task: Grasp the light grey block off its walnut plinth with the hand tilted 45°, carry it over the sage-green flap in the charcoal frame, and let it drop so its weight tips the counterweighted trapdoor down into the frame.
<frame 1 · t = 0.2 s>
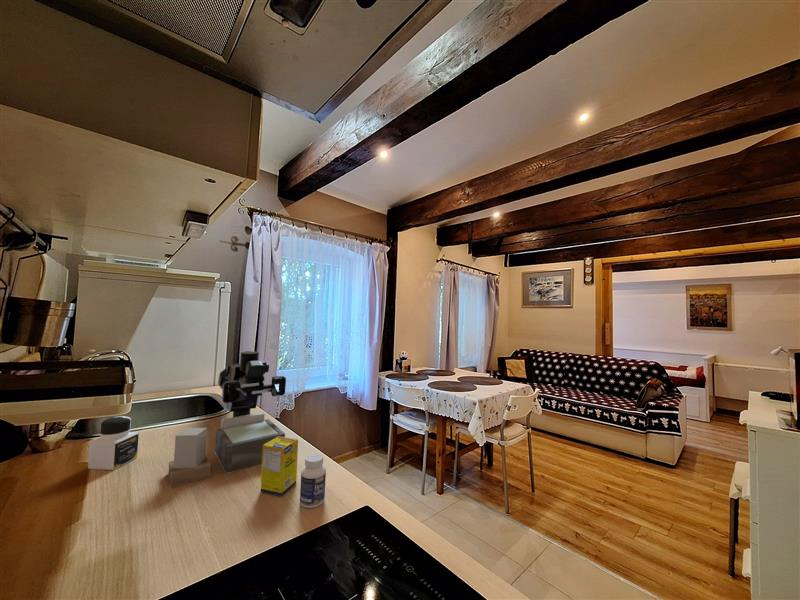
hand: (262, 395, 94), 17 cm above the worktop, tool horizontal, fingers open, 9 cm apart
supplement box: (278, 488, 75), on the worktop
walnut plinth: (189, 475, 79), on the worktop
pill bottle: (312, 502, 70), on the worktop
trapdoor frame: (249, 455, 91), on the worktop
trapdoor: (249, 427, 93), point 8 cm above the worktop, hinge at 0.0°
medicine bottle: (113, 464, 84), on the worktop
light grey block: (189, 463, 79), point 3 cm above the worktop, touching walnut plinth
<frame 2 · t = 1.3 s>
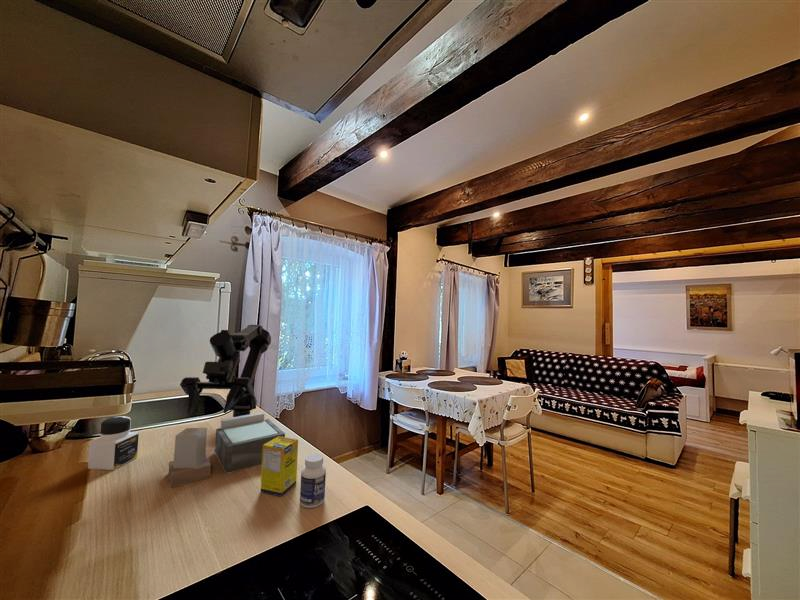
hand: (207, 412, 87), 13 cm above the worktop, tool tilted 45°, fingers open, 9 cm apart
nothing on the worktop moved.
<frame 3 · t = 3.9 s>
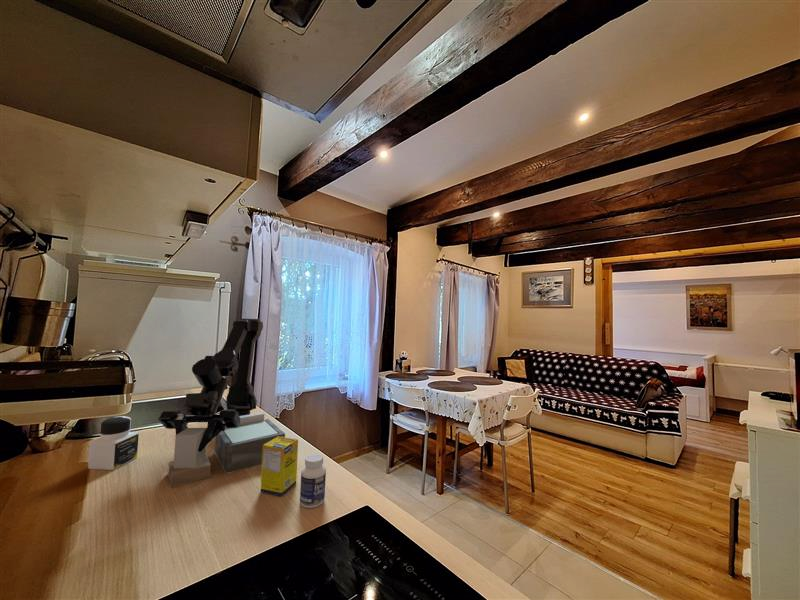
hand: (187, 451, 78), 7 cm above the worktop, tool tilted 45°, fingers closed on light grey block, 5 cm apart
light grey block: (189, 463, 79), point 3 cm above the worktop, touching gripper, walnut plinth
everything else where it was.
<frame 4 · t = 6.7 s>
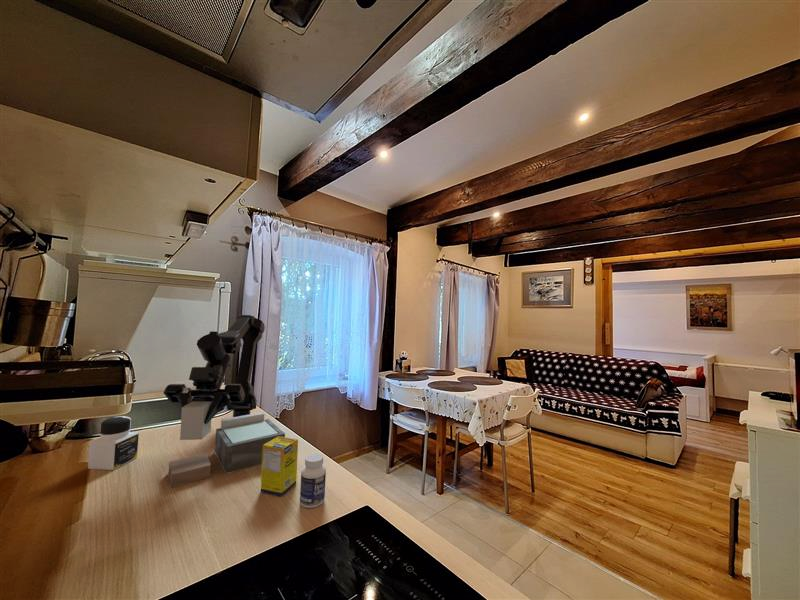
hand: (194, 423, 79), 13 cm above the worktop, tool tilted 45°, fingers closed on light grey block, 5 cm apart
light grey block: (195, 435, 80), point 10 cm above the worktop, touching gripper
everything else where it was.
when the fingers open (13 cm above the worktop, at t = 9.3 s): light grey block drops 6 cm, resting on trapdoor.
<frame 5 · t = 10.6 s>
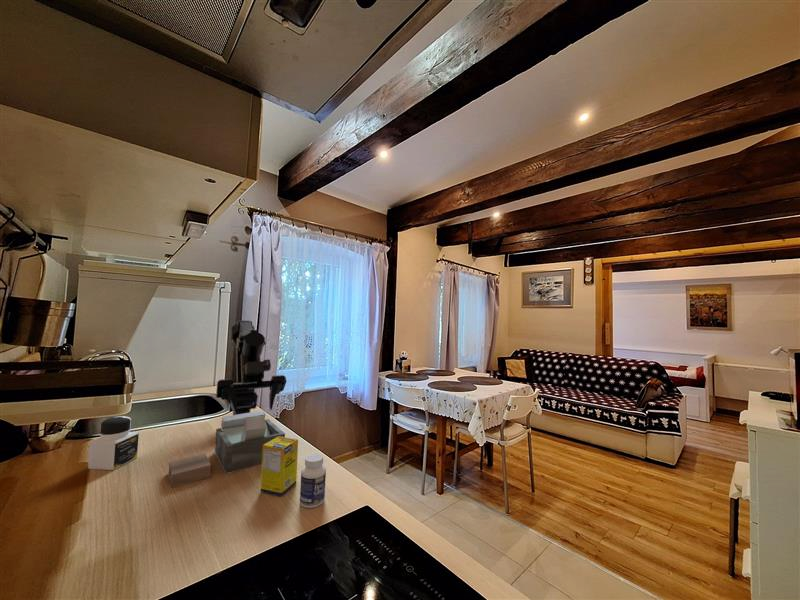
hand: (254, 411, 89), 14 cm above the worktop, tool tilted 45°, fingers open, 9 cm apart
trapdoor: (248, 434, 93), point 6 cm above the worktop, hinge at -24.2°, touching light grey block
light grey block: (251, 444, 90), point 4 cm above the worktop, tilted 24°, touching trapdoor
everything else where it was.
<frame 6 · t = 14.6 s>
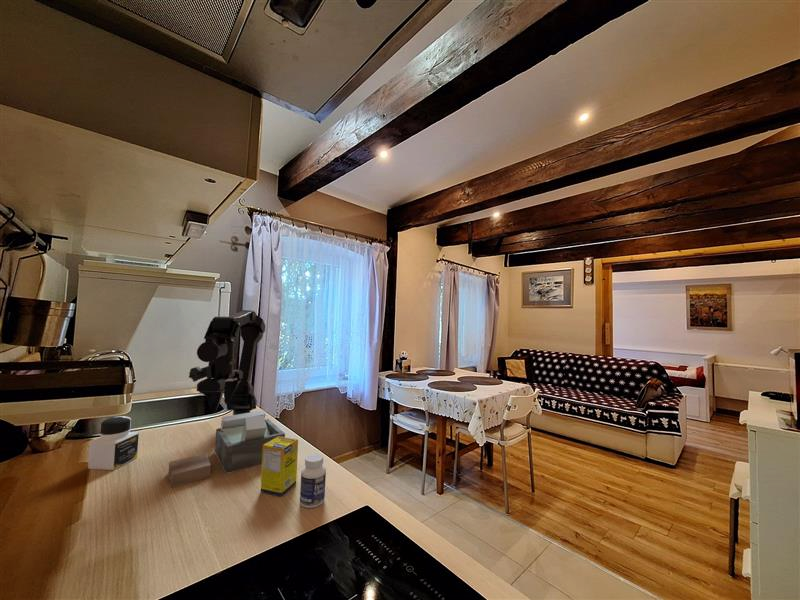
hand: (220, 407, 96), 12 cm above the worktop, tool pointing down, fingers open, 9 cm apart
nothing on the worktop moved.
at the end: light grey block point 3.5 cm above the worktop; light grey block 1.6 cm from the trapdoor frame (horizontally); the gripper is holding nothing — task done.
